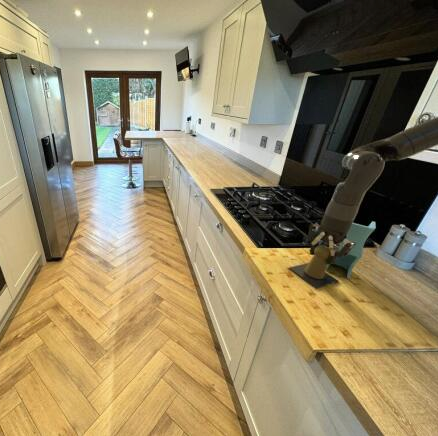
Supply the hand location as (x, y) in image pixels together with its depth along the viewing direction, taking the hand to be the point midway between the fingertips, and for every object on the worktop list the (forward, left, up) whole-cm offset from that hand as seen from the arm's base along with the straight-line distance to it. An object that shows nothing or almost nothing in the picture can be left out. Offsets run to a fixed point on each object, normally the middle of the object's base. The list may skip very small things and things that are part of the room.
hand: (320, 258), depth 82 cm
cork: (0, 0, -7) cm, 7 cm away
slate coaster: (0, 0, -7) cm, 7 cm away
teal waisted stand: (-13, 0, -8) cm, 15 cm away
